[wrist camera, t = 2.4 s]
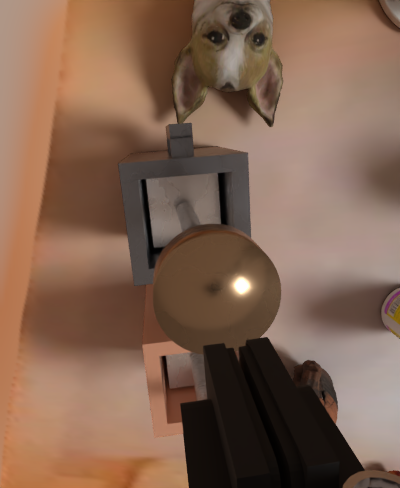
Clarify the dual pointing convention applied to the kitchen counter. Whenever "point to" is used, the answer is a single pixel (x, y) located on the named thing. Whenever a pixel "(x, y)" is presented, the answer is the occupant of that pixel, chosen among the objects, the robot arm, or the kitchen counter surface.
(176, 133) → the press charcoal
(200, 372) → the grey plunger
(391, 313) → the supplement bottle
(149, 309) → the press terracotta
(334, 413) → the brown curved piece
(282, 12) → the kitchen counter surface
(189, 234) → the plunger bronze
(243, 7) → the ceramic sculpture
